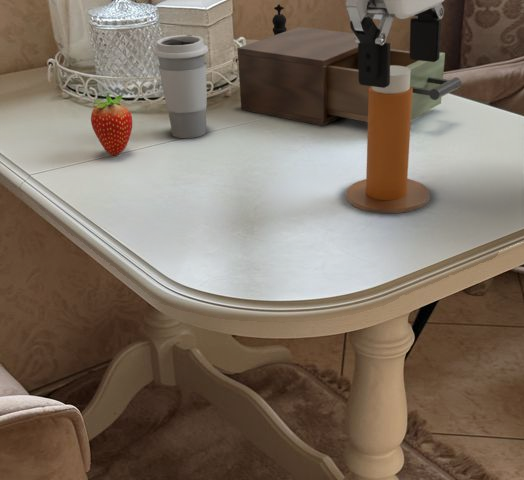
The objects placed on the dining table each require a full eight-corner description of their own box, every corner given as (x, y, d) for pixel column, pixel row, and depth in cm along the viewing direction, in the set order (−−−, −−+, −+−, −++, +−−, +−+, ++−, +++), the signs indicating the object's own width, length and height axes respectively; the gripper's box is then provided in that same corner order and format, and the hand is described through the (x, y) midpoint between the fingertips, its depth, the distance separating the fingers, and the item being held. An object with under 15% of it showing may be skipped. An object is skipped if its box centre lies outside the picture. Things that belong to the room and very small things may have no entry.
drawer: (471, 108, 108) (476, 56, 104) (422, 137, 99) (426, 82, 95) (359, 89, 117) (360, 41, 113) (306, 114, 109) (305, 63, 105)
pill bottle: (405, 184, 88) (412, 64, 81) (407, 200, 84) (414, 75, 77) (365, 184, 88) (368, 65, 81) (366, 200, 85) (369, 76, 78)
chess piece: (268, 64, 135) (266, 2, 129) (294, 64, 134) (293, 1, 129) (266, 72, 131) (264, 7, 126) (293, 71, 131) (291, 6, 125)
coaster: (426, 180, 90) (426, 176, 90) (432, 213, 82) (432, 209, 82) (346, 181, 91) (346, 176, 91) (345, 213, 83) (346, 209, 83)
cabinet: (380, 98, 116) (382, 36, 112) (323, 126, 107) (323, 60, 102) (300, 84, 124) (299, 26, 119) (241, 109, 115) (237, 47, 110)
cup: (223, 127, 109) (216, 35, 102) (201, 143, 104) (192, 48, 97) (178, 122, 111) (168, 33, 105) (154, 138, 106) (142, 45, 100)
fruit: (88, 155, 102) (77, 93, 97) (120, 144, 105) (111, 83, 100) (114, 164, 99) (104, 100, 94) (146, 152, 102) (138, 90, 97)
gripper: (389, -116, 62) (387, 101, 72) (487, -137, 73) (474, 54, 83) (312, -114, 66) (319, 91, 76) (415, -134, 77) (410, 48, 87)
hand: (400, 72), depth 79 cm, fingers open, 9 cm apart
